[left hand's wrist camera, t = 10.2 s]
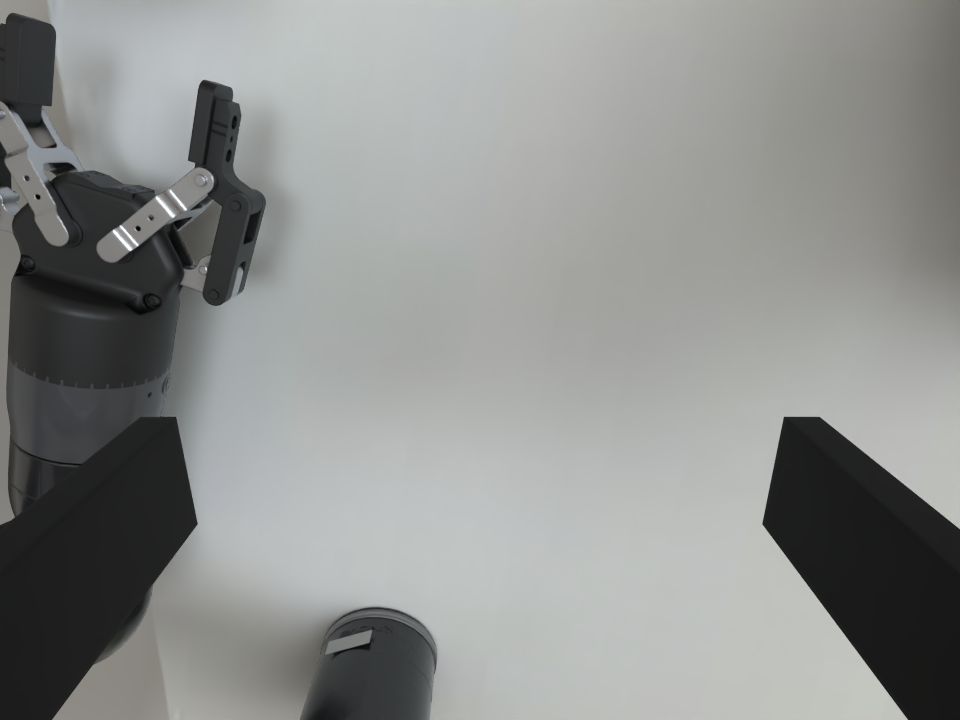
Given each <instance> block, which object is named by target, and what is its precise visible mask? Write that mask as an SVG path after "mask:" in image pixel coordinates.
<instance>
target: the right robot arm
mask: <svg viewBox="0 0 960 720" xmlns="http://www.w3.org/2000/svg"><path fill="white" fill-rule="evenodd" d="M55 45H56V32H55V29H54V27H53V26H52V25H51V24H48V23H46V22H43V21H40V20H37V19H34V18H30V17H27V16H23V15H19V14H16V13H11V14H9V15H8V17H7V19H6V24H2V23H1V25H0V230H3V231H7V232H11V233H13V234H14V236H15V238H16V240H17V243H18V245H19V249H20V253H21V258H20V262H19V265H18V267H17V270H16V272H15V274H14V276H13V279H12V282H11V301H10V322H9V343H8V368H7V387H6V389H7V408H8V414H9V419H10V448H9V467H8V491H9V498H10V503H11V507H12V510H13V513H14V516H15V517H16V516H17V515H19V514H20V513H21V512H22V511H24V510H25V509H26V508H27V507H29V506H30V505H31V504H32V503H34V502H35V501H36V500H37V499H39V498H40V497H41V496H42V495H44V494H45V493H46V492H47V491H49V490H50V489H51V488H52V487H54V486H55V485H56V484H57V483H59V482H60V481H61V480H62V479H64V478H65V477H66V476H67V475H69V474H70V473H71V472H72V471H74V470H75V469H76V468H77V467H79V466H80V465H81V464H82V463H84V462H85V461H86V460H87V459H89V458H90V457H91V456H92V455H94V454H95V453H96V452H97V451H99V450H100V449H101V448H102V447H104V446H105V445H106V444H107V443H109V442H110V441H111V440H112V439H114V438H115V437H116V436H117V435H119V434H120V433H121V432H122V431H124V430H125V429H126V428H127V427H129V426H130V425H131V424H132V423H134V422H135V421H136V420H137V419H139V418H140V417H160V415H161V412H162V409H163V406H164V402H165V397H166V391H167V390H168V387H169V383H170V373H169V370H170V364H171V358H172V351H173V344H174V338H175V331H176V325H177V318H178V312H179V305H180V300H179V294H180V291H181V288H182V287H183V286H186V287H188V288H191V289H194V290H197V291H199V292H202V293H203V297H204V299H205V300H206V302H208V303H209V304H211V305H214V306H218V305H221V304H223V303H225V302H226V301H228V300H229V299H231V298H233V297H234V296H236V295H238V294H239V293H241V292H242V291H243V289H244V286H245V282H246V278H247V274H248V270H249V267H250V263H251V259H252V255H253V251H254V247H255V244H256V240H257V236H258V232H259V228H260V224H261V221H262V217H263V213H264V209H265V205H266V201H265V197H264V196H263V194H262V193H261V192H259V191H257V190H252V189H251V188H249V187H248V186H247V185H245V184H244V183H243V182H241V181H240V180H239V179H238V178H237V176H236V175H235V173H234V170H233V161H234V156H235V150H236V144H237V138H238V137H237V136H238V132H239V126H240V121H241V112H240V106H239V104H238V103H235V102H232V99H233V91H232V88H230V87H228V86H225V85H222V84H219V83H216V82H212V81H207V80H203V81H202V82H201V83H200V85H199V89H198V95H197V102H196V109H195V116H194V123H193V130H192V137H191V143H190V150H189V157H188V161H191V162H194V163H195V168H194V169H193V170H191V171H190V172H189V173H188V174H187V175H185V176H184V177H183V178H182V179H180V180H179V181H178V182H177V183H176V184H174V185H173V186H172V187H171V188H169V189H168V190H166V191H165V192H162V193H160V194H159V195H157V196H156V195H155V194H154V191H155V190H152V189H149V188H146V187H143V186H140V185H124V184H122V183H121V182H119V181H117V180H116V179H114V178H112V177H111V176H109V175H106V174H103V173H100V172H97V171H84V169H83V167H82V165H81V163H80V162H79V160H78V158H77V156H76V155H75V153H74V152H73V151H72V150H71V149H70V148H68V147H66V146H65V145H64V144H63V143H62V141H61V139H60V137H59V136H58V134H57V132H56V130H55V128H54V127H53V125H52V123H51V121H50V119H49V118H48V116H47V114H46V112H45V111H44V109H43V108H42V105H43V106H52V91H53V75H54V60H55ZM44 170H48V171H51V172H52V173H54V174H55V175H56V176H57V177H55V178H54V179H53V180H52V181H51V182H50V181H49V179H48V177H47V175H46V174H45V172H44ZM11 175H12V176H13V178H14V180H15V181H16V183H17V185H18V187H19V188H20V190H21V192H22V193H23V195H24V197H25V198H26V200H27V202H28V203H27V204H26V205H25V206H24V207H23V208H22V209H20V208H19V206H18V204H17V201H18V200H19V198H20V197H19V194H18V193H17V192H15V191H12V190H11ZM213 201H216V202H217V203H219V204H220V205H221V206H222V211H221V215H220V219H219V223H218V228H217V232H216V236H215V240H214V245H213V249H212V253H211V254H210V255H208V256H205V257H203V258H201V259H200V261H199V263H198V265H197V266H193V262H192V259H191V257H190V255H189V253H188V251H187V249H186V247H185V245H184V243H183V241H182V239H181V237H180V235H179V231H180V230H181V229H182V228H184V227H185V226H186V225H187V224H189V223H190V222H191V221H192V220H194V219H195V218H196V217H197V216H199V215H200V214H201V213H202V212H204V211H205V210H206V209H207V206H208V205H209V204H211V203H212V202H213ZM9 522H10V521H9ZM9 522H6V523H4V524H2V525H0V529H1V528H2V527H4V526H5V525H6V524H7V523H9ZM152 588H153V585H152V586H151V587H150V589H149V590H148V591H147V593H146V594H145V595H144V597H143V598H142V599H141V601H140V602H139V603H138V605H137V606H136V608H135V609H134V610H133V612H132V613H131V614H130V616H129V617H128V618H127V620H126V621H125V622H124V624H123V625H122V626H121V628H120V629H119V630H118V632H117V633H116V634H115V636H114V637H113V638H112V640H111V641H110V642H109V644H108V645H107V646H106V648H105V649H104V650H103V652H102V653H101V654H100V656H99V657H98V659H97V660H96V661H95V663H94V664H96V663H98V662H100V661H102V660H104V659H106V658H107V657H109V656H110V655H112V654H113V653H115V652H116V651H117V650H118V649H119V648H121V647H122V646H123V645H124V644H125V643H126V642H127V641H128V639H129V638H130V637H131V636H132V635H133V633H134V632H135V631H136V629H137V628H138V626H139V625H140V623H141V622H142V620H143V618H144V616H145V613H146V611H147V608H148V606H149V603H150V599H151V595H152ZM436 662H437V650H436V646H435V643H434V641H433V639H432V637H431V635H430V634H429V633H428V631H427V630H426V629H425V628H424V627H423V626H422V625H421V624H419V623H418V622H417V621H415V620H414V619H412V618H410V617H408V616H406V615H404V614H401V613H398V612H394V611H390V610H383V609H369V610H362V611H358V612H354V613H352V614H349V615H347V616H345V617H343V618H342V619H340V620H339V621H337V622H336V623H335V624H334V625H333V626H332V627H331V628H330V629H329V631H328V632H327V634H326V636H325V639H324V642H323V645H322V648H321V653H320V659H319V662H318V665H317V668H316V671H315V674H314V677H313V680H312V682H311V686H310V689H309V692H308V695H307V698H306V701H305V704H304V707H303V710H302V714H301V717H300V720H430V710H431V702H432V691H433V680H434V673H435V670H436ZM94 664H93V665H94Z"/></svg>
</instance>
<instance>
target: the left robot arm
mask: <svg viewBox="0 0 960 720" xmlns="http://www.w3.org/2000/svg"><path fill="white" fill-rule="evenodd" d="M196 526H197V519H196V514H195V509H194V504H193V499H192V494H191V489H190V484H189V479H188V474H187V469H186V464H185V459H184V454H183V449H182V444H181V439H180V434H179V429H178V424H177V419H176V417H140V418H139V419H137V420H136V421H135V422H134V423H132V424H131V425H130V426H129V427H127V428H126V429H125V430H124V431H122V432H121V433H120V434H119V435H117V436H116V437H115V438H114V439H112V440H111V441H110V442H109V443H107V444H106V445H105V446H104V447H102V448H101V449H100V450H99V451H97V452H96V453H95V454H94V455H92V456H91V457H90V458H89V459H87V460H86V461H85V462H84V463H82V464H81V465H80V466H79V467H77V468H76V469H75V470H74V471H72V472H71V473H70V474H69V475H67V476H66V477H65V478H64V479H62V480H61V481H60V482H59V483H57V484H56V485H55V486H54V487H52V488H51V489H50V490H49V491H47V492H46V493H45V494H44V495H42V496H41V497H40V498H39V499H37V500H36V501H35V502H34V503H32V504H31V505H30V506H29V507H27V508H26V509H25V510H24V511H22V512H21V513H20V514H19V515H17V516H16V517H15V518H14V519H12V520H11V521H10V522H9V523H7V524H6V525H5V526H4V527H2V528H1V529H0V720H52V719H53V718H54V716H55V715H56V714H57V712H58V711H59V710H60V708H61V707H62V706H63V704H64V703H65V701H66V700H67V699H68V697H69V696H70V695H71V693H72V692H73V691H74V689H75V688H76V687H77V685H78V684H79V683H80V681H81V680H82V679H83V677H84V676H85V675H86V673H87V672H88V671H89V669H90V668H91V667H92V665H93V664H94V663H95V661H96V660H97V659H98V657H99V656H100V654H101V653H102V652H103V650H104V649H105V648H106V646H107V645H108V644H109V642H110V641H111V640H112V638H113V637H114V636H115V634H116V633H117V632H118V630H119V629H120V628H121V626H122V625H123V624H124V622H125V621H126V620H127V618H128V617H129V616H130V614H131V613H132V612H133V610H134V609H135V608H136V606H137V605H138V603H139V602H140V601H141V599H142V598H143V597H144V595H145V594H146V593H147V591H148V590H149V589H150V587H151V586H152V585H153V583H154V582H155V581H156V579H157V578H158V577H159V575H160V574H161V573H162V571H163V570H164V569H165V567H166V566H167V565H168V563H169V562H170V561H171V559H172V558H173V556H174V555H175V554H176V552H177V551H178V550H179V548H180V547H181V546H182V544H183V543H184V542H185V540H186V539H187V538H188V536H189V535H190V534H191V532H192V531H193V530H194V528H195V527H196ZM763 526H764V527H765V528H766V530H767V531H768V532H769V534H770V535H771V536H772V538H773V539H774V540H775V542H776V543H777V544H778V546H779V547H780V548H781V550H782V551H783V552H784V554H785V555H786V556H787V558H788V559H789V561H790V562H791V563H792V565H793V566H794V567H795V569H796V570H797V571H798V573H799V574H800V575H801V577H802V578H803V579H804V581H805V582H806V583H807V585H808V586H809V587H810V589H811V590H812V591H813V593H814V594H815V595H816V597H817V598H818V599H819V601H820V602H821V603H822V605H823V606H824V608H825V609H826V610H827V612H828V613H829V614H830V616H831V617H832V618H833V620H834V621H835V622H836V624H837V625H838V626H839V628H840V629H841V630H842V632H843V633H844V634H845V636H846V637H847V638H848V640H849V641H850V642H851V644H852V645H853V646H854V648H855V649H856V650H857V652H858V653H859V654H860V656H861V657H862V659H863V660H864V661H865V663H866V664H867V665H868V667H869V668H870V669H871V671H872V672H873V673H874V675H875V676H876V677H877V679H878V680H879V681H880V683H881V684H882V685H883V687H884V688H885V689H886V691H887V692H888V693H889V695H890V696H891V697H892V699H893V700H894V701H895V703H896V704H897V706H898V707H899V708H900V710H901V711H902V712H903V714H904V715H905V716H906V718H907V719H908V720H960V529H959V528H958V527H956V526H955V525H954V524H953V523H951V522H950V521H949V520H948V519H946V518H945V517H944V516H943V515H941V514H940V513H939V512H938V511H936V510H935V509H934V508H933V507H931V506H930V505H929V504H928V503H926V502H925V501H924V500H923V499H921V498H920V497H919V496H918V495H916V494H915V493H914V492H913V491H911V490H910V489H909V488H908V487H906V486H905V485H904V484H903V483H901V482H900V481H899V480H898V479H896V478H895V477H894V476H893V475H891V474H890V473H889V472H888V471H886V470H885V469H884V468H883V467H881V466H880V465H879V464H878V463H876V462H875V461H874V460H873V459H871V458H870V457H869V456H868V455H866V454H865V453H864V452H863V451H861V450H860V449H859V448H858V447H856V446H855V445H854V444H853V443H851V442H850V441H849V440H848V439H846V438H845V437H844V436H843V435H841V434H840V433H839V432H838V431H836V430H835V429H834V428H833V427H831V426H830V425H829V424H828V423H826V422H825V421H824V420H823V419H821V418H820V417H784V419H783V424H782V429H781V434H780V439H779V444H778V449H777V454H776V459H775V464H774V469H773V474H772V479H771V484H770V489H769V494H768V499H767V504H766V509H765V514H764V519H763Z"/></svg>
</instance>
